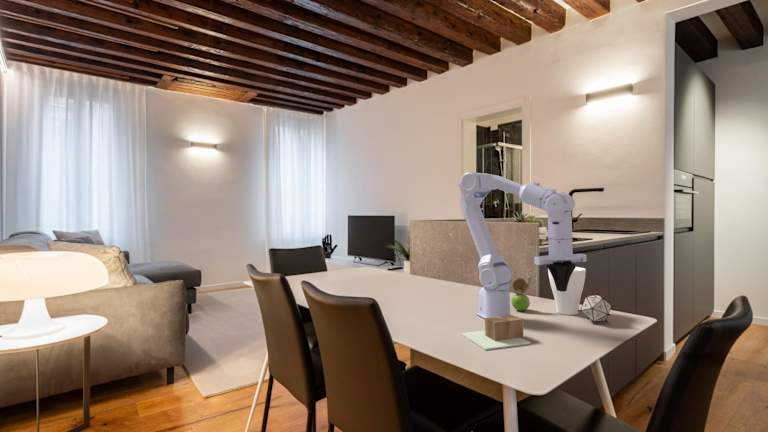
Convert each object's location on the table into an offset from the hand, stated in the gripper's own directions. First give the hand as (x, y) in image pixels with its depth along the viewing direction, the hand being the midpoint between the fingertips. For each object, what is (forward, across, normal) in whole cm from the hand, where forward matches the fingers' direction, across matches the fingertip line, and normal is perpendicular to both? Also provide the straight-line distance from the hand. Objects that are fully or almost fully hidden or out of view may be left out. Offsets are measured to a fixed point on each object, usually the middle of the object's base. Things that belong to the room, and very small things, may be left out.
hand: (561, 290), depth 101 cm
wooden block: (+8, -13, 0) cm, 15 cm away
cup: (+11, +14, +14) cm, 22 cm away
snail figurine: (+11, +3, +21) cm, 24 cm away
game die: (+11, +14, +3) cm, 18 cm away
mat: (+10, -20, 0) cm, 23 cm away
